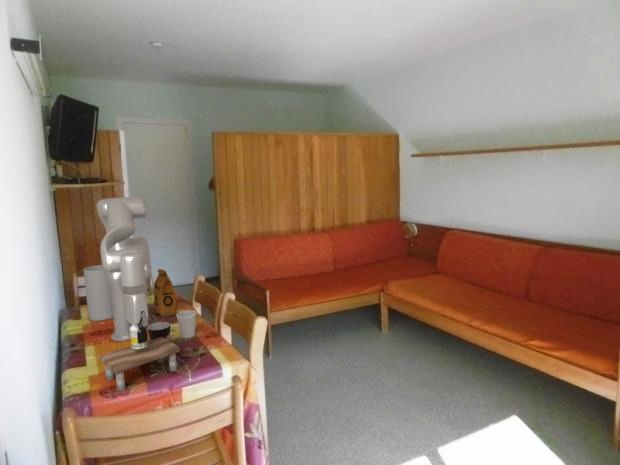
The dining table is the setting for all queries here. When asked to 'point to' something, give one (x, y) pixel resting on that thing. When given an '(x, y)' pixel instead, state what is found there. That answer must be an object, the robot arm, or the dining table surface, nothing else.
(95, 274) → the cylinder vase
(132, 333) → the supplement bottle
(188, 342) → the dining table surface
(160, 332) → the coffee mug
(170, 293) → the coffee package
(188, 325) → the dixie cup
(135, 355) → the small wooden riser
